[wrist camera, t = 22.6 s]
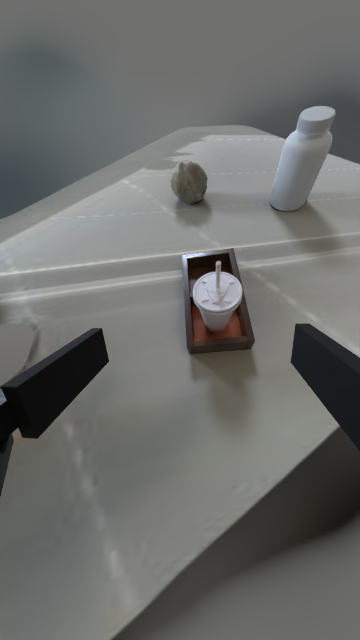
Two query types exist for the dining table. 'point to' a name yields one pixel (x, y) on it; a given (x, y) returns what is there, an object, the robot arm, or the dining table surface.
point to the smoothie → (217, 298)
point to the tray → (197, 333)
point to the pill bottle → (302, 158)
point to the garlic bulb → (189, 181)
